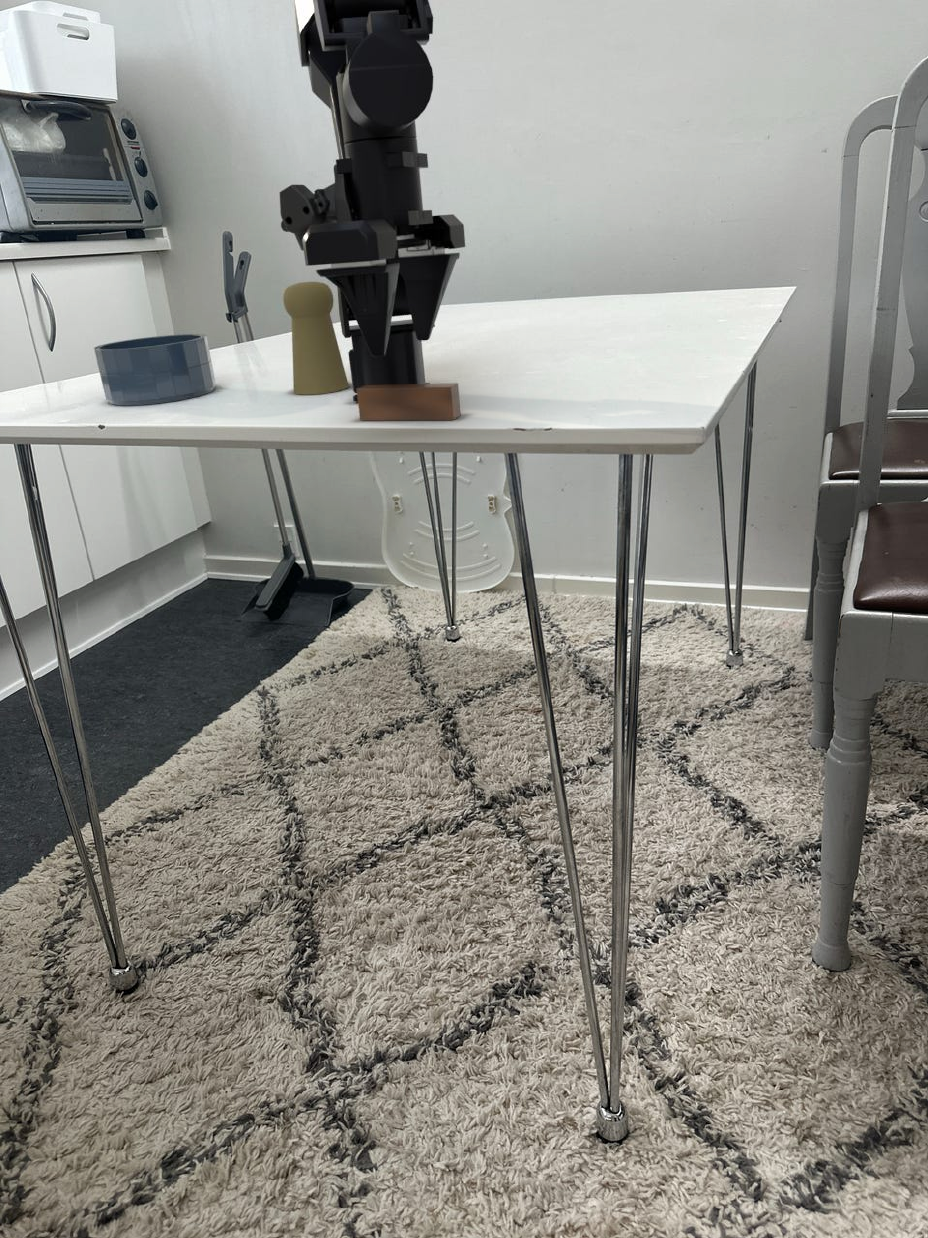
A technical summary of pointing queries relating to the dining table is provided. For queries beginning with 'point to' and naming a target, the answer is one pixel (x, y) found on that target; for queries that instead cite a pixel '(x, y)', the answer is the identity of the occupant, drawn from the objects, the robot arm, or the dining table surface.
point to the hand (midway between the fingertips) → (402, 347)
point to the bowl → (155, 369)
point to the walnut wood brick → (409, 402)
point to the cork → (314, 340)
